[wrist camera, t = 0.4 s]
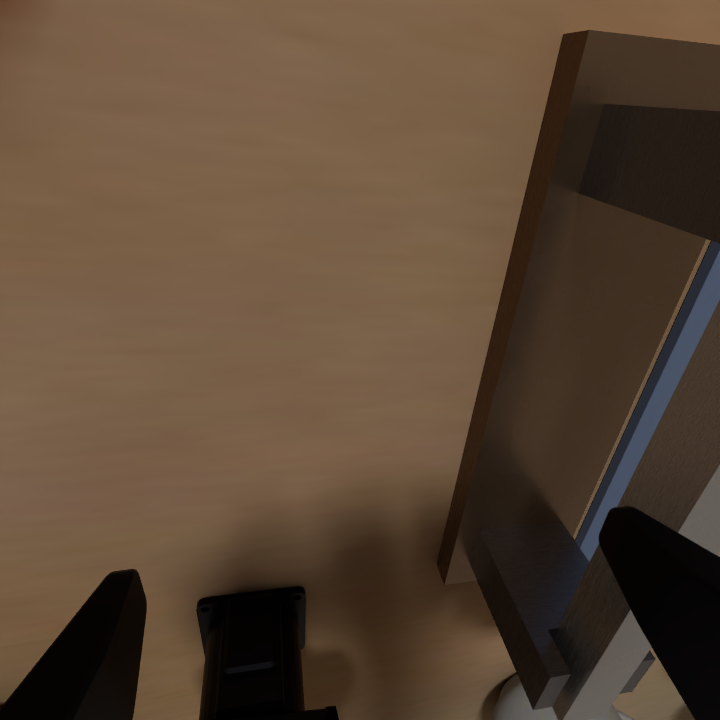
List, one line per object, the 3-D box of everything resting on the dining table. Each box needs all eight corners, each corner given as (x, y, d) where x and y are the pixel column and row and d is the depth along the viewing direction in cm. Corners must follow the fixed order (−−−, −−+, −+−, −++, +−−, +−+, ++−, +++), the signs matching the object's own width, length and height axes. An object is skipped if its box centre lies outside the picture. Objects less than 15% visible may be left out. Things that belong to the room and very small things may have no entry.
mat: (677, 555, 36) (683, 562, 35) (561, 570, 34) (566, 578, 33) (955, 119, 21) (973, 121, 20) (774, 103, 19) (787, 104, 18)
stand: (545, 551, 32) (639, 706, 24) (436, 564, 31) (498, 734, 23) (751, 55, 18) (1156, 34, 10) (563, 33, 16) (859, -12, 8)
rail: (575, 664, 25) (603, 715, 23) (535, 671, 24) (560, 724, 22) (910, 79, 11) (1051, 78, 9) (833, 70, 11) (963, 68, 9)
